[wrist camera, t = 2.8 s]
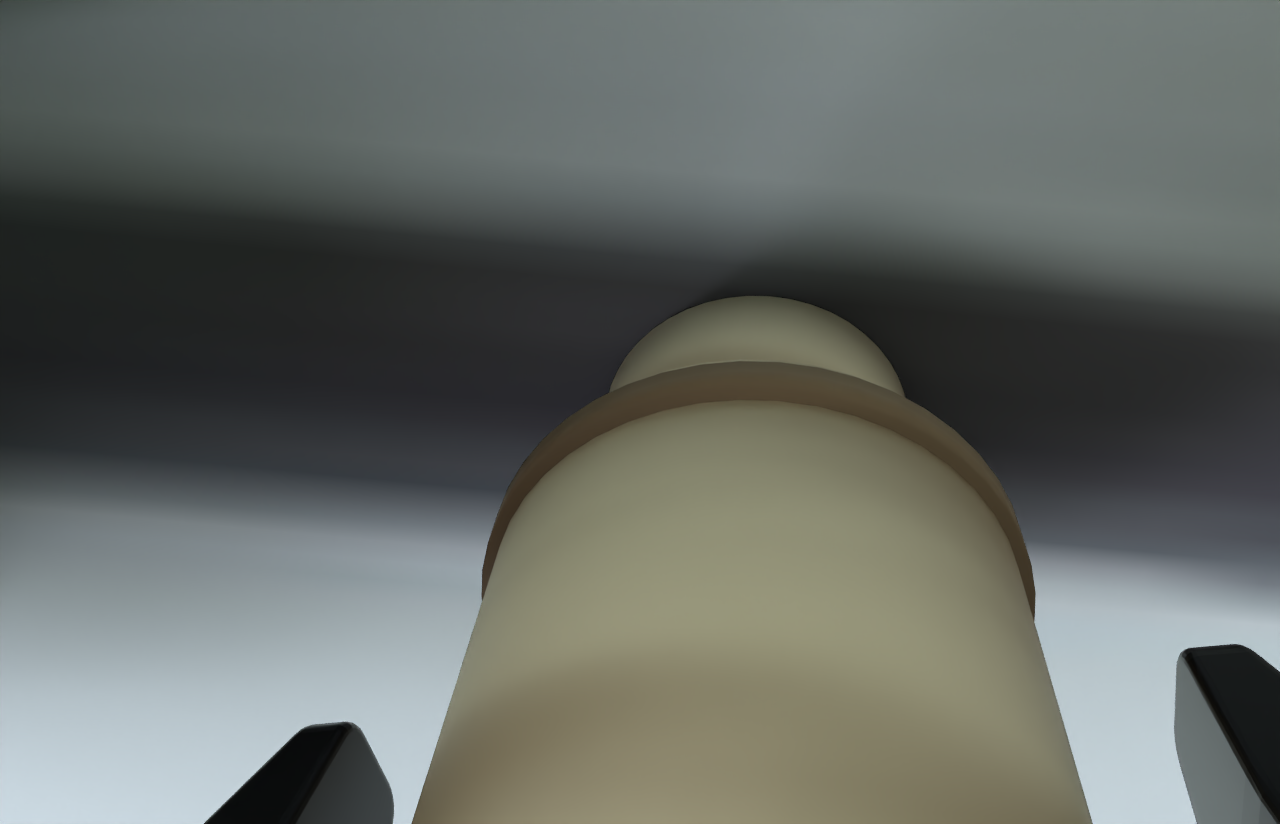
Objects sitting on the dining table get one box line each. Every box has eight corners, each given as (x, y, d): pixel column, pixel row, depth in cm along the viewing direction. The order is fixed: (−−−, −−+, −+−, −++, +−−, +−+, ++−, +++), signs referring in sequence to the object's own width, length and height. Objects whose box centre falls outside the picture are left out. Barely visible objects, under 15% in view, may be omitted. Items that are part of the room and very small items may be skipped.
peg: (991, 571, 12) (1315, 1836, 5) (597, 612, 13) (389, 1731, 6) (960, 191, 10) (1490, 1518, 3) (487, 271, 11) (-83, 1426, 4)
